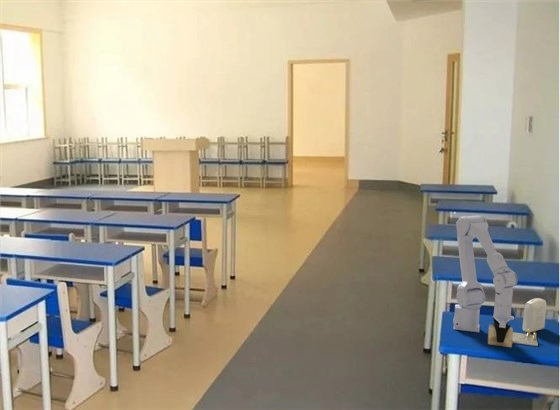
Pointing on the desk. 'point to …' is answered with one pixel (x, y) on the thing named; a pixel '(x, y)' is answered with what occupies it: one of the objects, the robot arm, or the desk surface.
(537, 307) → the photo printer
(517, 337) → the plate
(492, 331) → the board
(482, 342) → the desk surface
